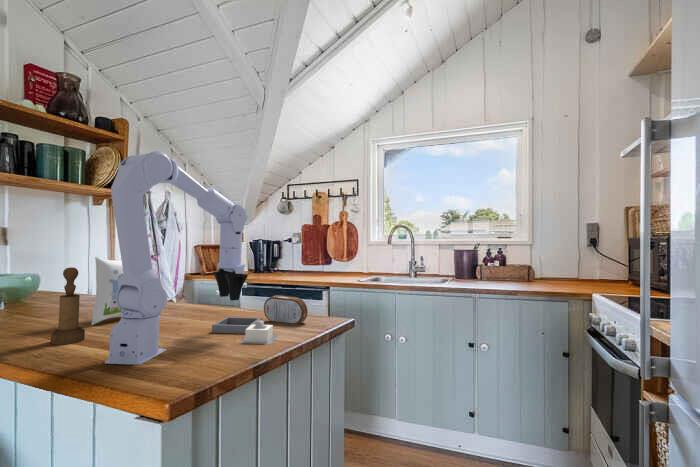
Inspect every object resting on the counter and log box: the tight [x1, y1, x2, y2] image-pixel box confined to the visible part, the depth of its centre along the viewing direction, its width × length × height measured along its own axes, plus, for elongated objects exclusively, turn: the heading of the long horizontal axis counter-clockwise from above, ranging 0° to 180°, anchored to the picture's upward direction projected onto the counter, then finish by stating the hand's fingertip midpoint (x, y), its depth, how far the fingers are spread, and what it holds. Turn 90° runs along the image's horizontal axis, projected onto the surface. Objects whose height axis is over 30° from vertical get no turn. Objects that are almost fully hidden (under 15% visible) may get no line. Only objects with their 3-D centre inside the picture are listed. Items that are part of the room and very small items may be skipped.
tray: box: [211, 316, 263, 335], centre depth 103 cm, size 11×11×3 cm
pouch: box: [91, 256, 123, 326], centre depth 114 cm, size 8×19×20 cm, turn 157°
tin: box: [263, 294, 308, 325], centre depth 114 cm, size 15×3×8 cm, turn 66°
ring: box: [244, 324, 274, 342], centre depth 92 cm, size 6×6×3 cm
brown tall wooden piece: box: [50, 267, 86, 346], centre depth 89 cm, size 7×6×18 cm
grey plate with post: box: [238, 319, 279, 345], centre depth 92 cm, size 8×8×5 cm
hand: (229, 298), depth 99 cm, fingers open, 7 cm apart
